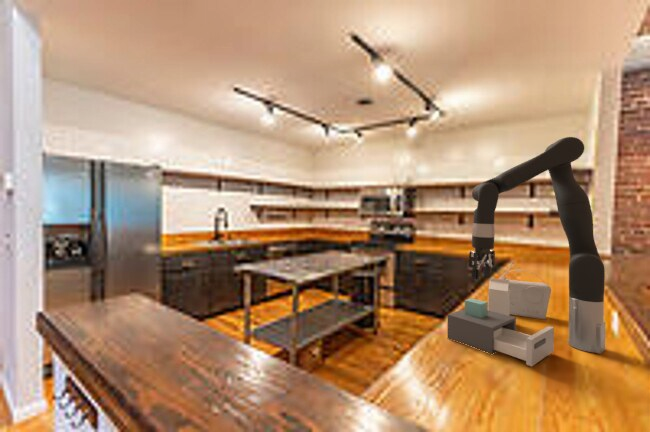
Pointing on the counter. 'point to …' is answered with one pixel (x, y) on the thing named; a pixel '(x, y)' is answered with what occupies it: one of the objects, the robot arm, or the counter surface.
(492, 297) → the milk carton
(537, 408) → the counter surface
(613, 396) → the counter surface
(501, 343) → the drawer
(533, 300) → the radio
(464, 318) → the cabinet
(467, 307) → the block
